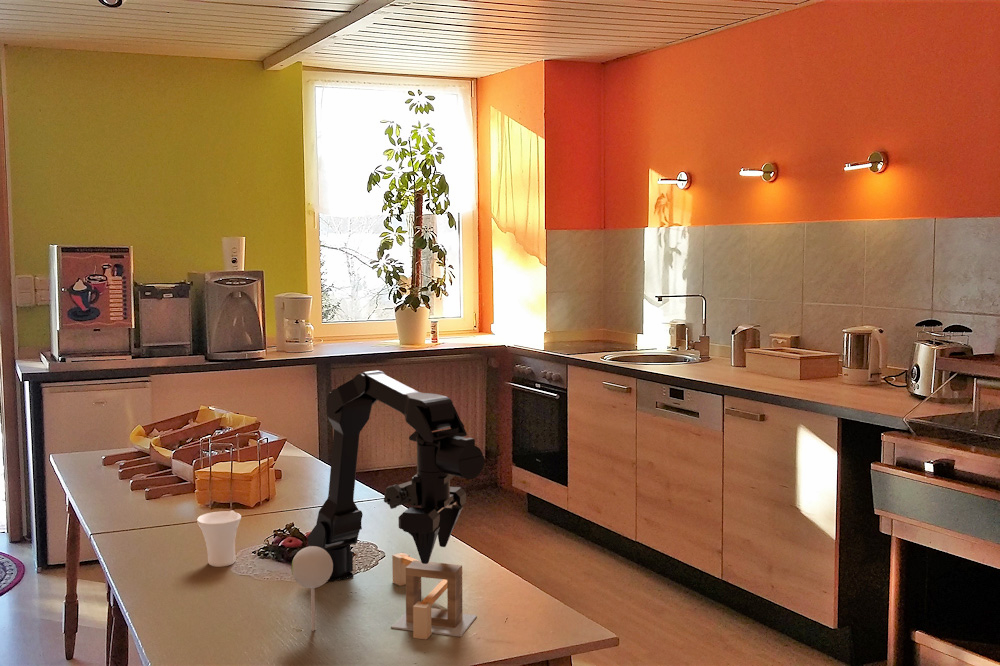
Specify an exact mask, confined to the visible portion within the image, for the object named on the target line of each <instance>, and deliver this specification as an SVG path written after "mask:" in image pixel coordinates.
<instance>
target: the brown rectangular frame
mask: <svg viewBox="0 0 1000 666" xmlns="http://www.w3.org/2000/svg"><path fill="white" fill-rule="evenodd" d="M416 560H417V559H416ZM416 560H414V561H412V562H411V563H410V564H409V565H408V566H407V567H406V584H405V612H406V622H410V623H413V606H414V605H415V604H416V603H417V602H418V601H420V602H422V578H426V579H427V578H428V579H437V580H443V579H444V580H447V589H446V593H447V596H446V597H447V609H442V608H436V607H435V608H433V607H431V625H434V626H443V627H451V628H456V627H457V625H458V624H459V623H460V622H461V620H462V614H463V565H462V564H454V563H444V562H433V561H429V562H428V564H423V563H422V562H421V560H419V561H416Z"/></svg>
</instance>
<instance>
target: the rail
mask: <svg viewBox="0 0 1000 666" xmlns="http://www.w3.org/2000/svg"><path fill="white" fill-rule="evenodd" d="M410 556H411V555H410V554H407V553H404V552H398V553H396V554H395V553H394V554H392V557H391V558H392V583H393V584H395V585H397V586H400V587H401V586H404V585H406V567H407V566H408V565H409V564H410V563H411V562H412V561H414V560H416V561H420V559H419V560H418V559H417V558H416V559H415V558H413V557H410ZM445 591H447V580H444V579H441V581H440V582H439V583H438V584H437V585H436V586H435V587H434V588H433V589H432V590H431V591H430V592H429V593H428V595H426V597H424V598H423V599H422V600H421V602H420V601H418V602H417V603H416V604H415V605H414V606H413V631H412V633H413V634H412V635H413V639H418V640H420V639H421V640H428V639H429V638H430V636H431V635H432V633H431V608H432V606H433V604H435V602H436V601H437V600H438V599H439V598H440V596H442V595H443V594H444V592H445Z"/></svg>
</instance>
